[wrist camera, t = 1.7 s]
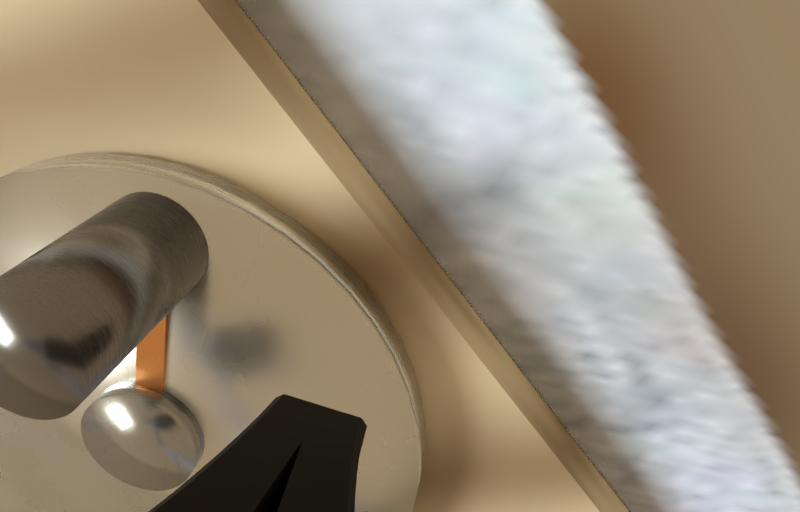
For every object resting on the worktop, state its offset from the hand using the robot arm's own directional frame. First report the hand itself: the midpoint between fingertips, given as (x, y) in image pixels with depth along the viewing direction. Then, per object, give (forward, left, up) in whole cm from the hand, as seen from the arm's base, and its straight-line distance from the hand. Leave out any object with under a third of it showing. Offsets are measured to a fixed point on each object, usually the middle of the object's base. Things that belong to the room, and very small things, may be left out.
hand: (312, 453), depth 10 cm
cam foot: (0, +7, -5) cm, 9 cm away
